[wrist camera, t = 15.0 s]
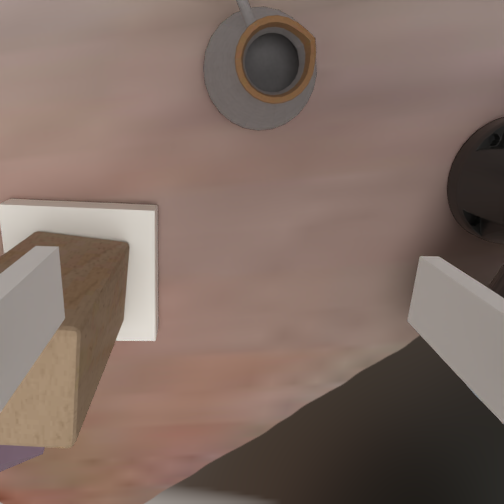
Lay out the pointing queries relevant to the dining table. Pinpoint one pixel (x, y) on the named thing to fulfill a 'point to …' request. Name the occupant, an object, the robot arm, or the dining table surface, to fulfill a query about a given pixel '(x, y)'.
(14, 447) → the flask
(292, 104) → the coffee pot
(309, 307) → the dining table surface
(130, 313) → the white square plate
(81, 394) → the wooden block
